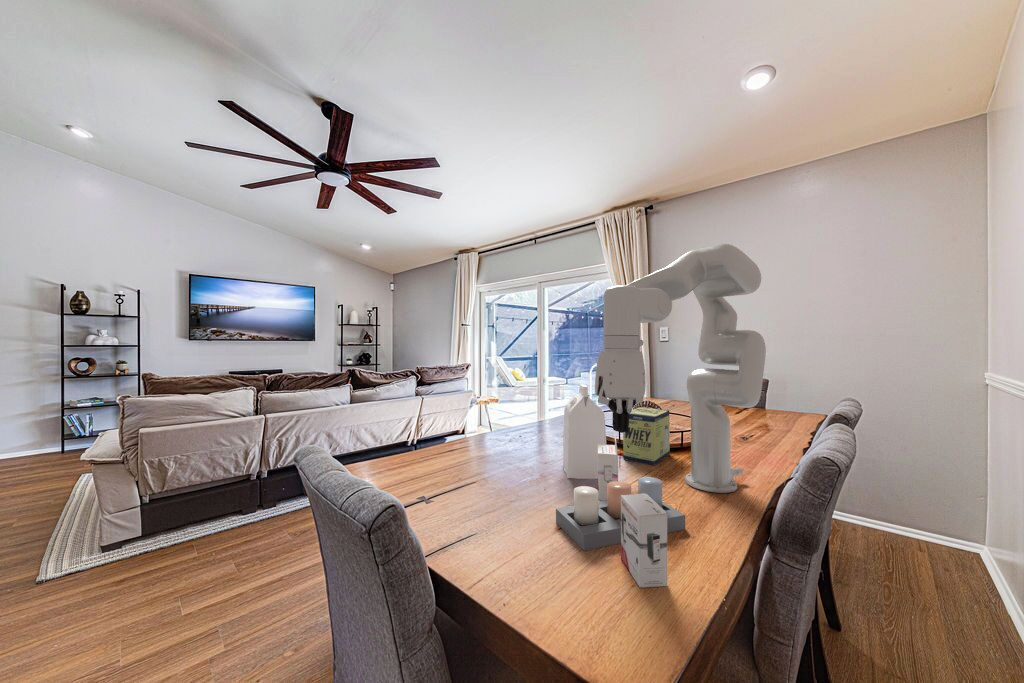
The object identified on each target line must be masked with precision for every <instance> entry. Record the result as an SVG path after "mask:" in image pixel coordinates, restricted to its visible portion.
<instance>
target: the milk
mask: <svg viewBox="0 0 1024 683" xmlns="http://www.w3.org/2000/svg"><path fill="white" fill-rule="evenodd" d="M563 411H564V412H563V442H562V444H563V445H562V446H563V447H562V467H563V466H564V467H563V469H565V470H564V472H565V474H566V477H568V478H577V479H576V480H579V479H580V480H581V479H582V480H583V479H584V480H586V479H587V480H588V479H590V480H595V479H597V480H598V456H597V448H598V444H599V445H607V432H606V431H607V430H606V416H605V412H604V410H602V409H601V407H600V406H599V405H597V403H596V402H595V401H593V400H592V399H591V398H590V397H589V387H588V386H587V385H586V384H580V383H579V391H578V393H577V394H576V395H574V396H572V397H571V398H570V399H569V401H568V403H567V404H566V405H565V406H564V410H563ZM568 478H567V479H568Z"/></svg>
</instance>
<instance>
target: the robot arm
mask: <svg viewBox="0 0 1024 683" xmlns="http://www.w3.org/2000/svg"><path fill="white" fill-rule="evenodd" d="M761 283H762V274H761V270H760V268H759V267H758V265H757V263H755V262H754V260H752V259H751V258H750V257H749V256H748V255H747V254H746V253H745V252H744V251H742V250H741V249H739V248H738V247H737V246H734V245H732V244H729V243H721V244H717V245H716V244H715V245H711V246H707V247H706V246H705V247H702V248H698V249H692V250H690V251H688V252H686V253H684V254H683V255H681V256H679V258H677V259H675V261H672V263H670V264H669V265H667V266H665V267H664V268H662V269H659V270H656V271H654V272H652V273H650V274H648V275H645V276H643V277H640V278H638V279H636V280H633V281H632V282H630V283H628V284H625V285H614V286H611V287H607V288H606V289H605V291H604V292H603V344H602V345H603V346H602V349H603V350H599V354H598V356H597V361H596V367H595V368H596V369H595V379H594V394H595V395H596V396H597V397H598V398H597V403H598V404H602V405H605V406H607V407H608V409H609V411H610V412H612V429H613V430H612V431H615V432H618V433H622V434H623V433H624V432H628V427H629V413H631V412H632V410H633V408H635V406H636V405H638V404H641V403H643V402H644V395H645V394H646V369H645V360H644V355H643V351H641V347H642V346H644V340H643V339H641V324H648V323H649V324H651V323H657V322H659V323H660V322H661V321H663V320H666V319H667V318H668V317H669V316H670V314H671V313H672V309H673V302H672V301H677V300H679V299H682V298H685V297H686V296H688V295H689V294H690V293H691V292H693V294H694V296H695V298H696V300H697V302H698V304H699V306H700V309H701V311H702V323H701V330H700V335H699V336H700V337H699V343H698V354H697V355H698V358H699V359H700V361H701V362H702V363H704V364H708V365H714V366H715V365H716V366H729V367H731V366H732V367H738V369H726V368H725V369H724V368H711V367H710V368H707V367H705V368H704V367H703V368H697V369H695V370H692V371H691V372H690V373H689V375H687V379H686V391H687V396H688V400H689V408H690V462H691V463H690V464H691V465H690V468H691V470H690V473H687V474H686V475H685V477H684V481H685V483H686V484H687V485H689V486H691V487H692V488H695V489H697V490H701V491H704V492H709V493H716V494H717V493H718V494H726V493H727V494H728V493H732V492H733V493H734V492H736V491H737V490H738V483H737V481H735V480H734V478H735V476H742V475H743V474H744V472H743V471H744V470H743V469H742V467H735V468H734V467H731V421H730V418H729V417H730V416H728V413H727V412H726V409H725V408H724V407H723V406H728V407H734V408H744V409H748V408H749V409H750V408H754V407H756V406H757V405H758V403H759V402H760V399H761V395H762V388H763V380H764V373H765V372H764V371H765V365H766V353H767V348H766V343H765V338H764V337H763V336H762V334H761V333H759V332H758V331H756V330H755V331H754V330H751V329H747V330H745V329H741V330H740V329H738V330H737V325H738V324H737V323H738V314H737V311H736V309H734V307H733V306H732V305H731V303H729V302H728V301H727V300H726V299H725V297H731V296H732V297H734V296H743V295H744V296H745V295H746V296H747V295H750V294H753V293H754V292H756V291H757V290H759V288H760V286H761Z"/></svg>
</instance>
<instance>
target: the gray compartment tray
mask: <svg viewBox="0 0 1024 683" xmlns="http://www.w3.org/2000/svg"><path fill="white" fill-rule="evenodd" d="M598 502H599V522H598V523H597V524H592V525H587V526H584V525H580V524H578V523H576V522H575V521H574V504H573V505H569V506H563V507H562V506H561V507H556V508H555V523H556V524H558V526H559V527H560V528H561V529H562V530H563V531H564V533H565V534H567V535H568V536H569V537H570V538H571V540H572V541H574V542H575V543H576V544H577V546H578V547H580V548H581V550H583V552H585V551H590V550H596V549H599V548H605V547H610V546H614V545H620V544H621V519H615V518H612V517H611V516H609V515H608V514H607V500H598ZM662 509H663V510H665V511H666V514H667V534H669V533H674V532H679V531H683V530H686V514H685V513H682V512H681V511H679V510H677V509H676V508H674V507H673V506H671V505H669V504H667V503H665V502H663V501H662Z"/></svg>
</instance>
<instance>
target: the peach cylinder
mask: <svg viewBox="0 0 1024 683" xmlns="http://www.w3.org/2000/svg"><path fill="white" fill-rule="evenodd" d="M630 494H632V486H631V484H629V483H627V482H624V481H619V480H618V481H614V482H609V483H608V484H607V514H608V515H609V516H611V517H612V518H615V520H619V519H621V495H630Z"/></svg>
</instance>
